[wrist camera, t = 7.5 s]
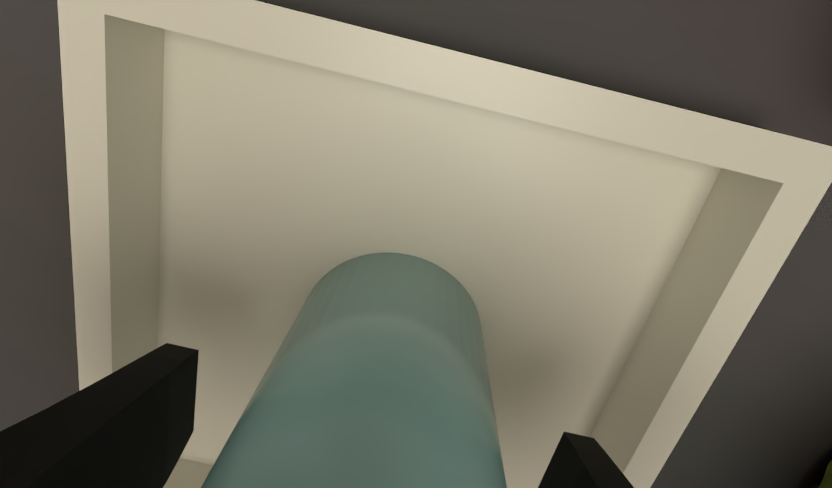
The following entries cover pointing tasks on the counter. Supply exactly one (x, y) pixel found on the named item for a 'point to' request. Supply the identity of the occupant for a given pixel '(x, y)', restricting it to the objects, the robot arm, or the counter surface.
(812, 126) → the counter surface
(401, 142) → the cream tray
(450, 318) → the pale teal cylinder
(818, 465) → the counter surface
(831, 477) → the plant pot
